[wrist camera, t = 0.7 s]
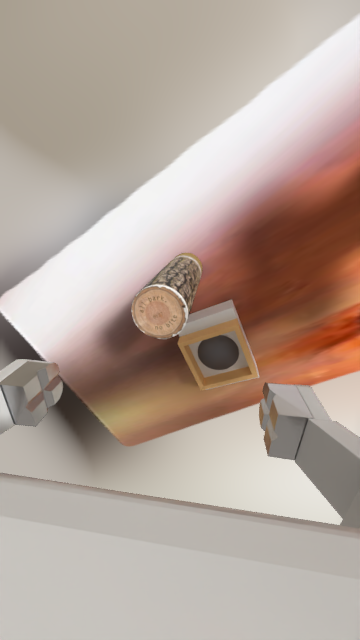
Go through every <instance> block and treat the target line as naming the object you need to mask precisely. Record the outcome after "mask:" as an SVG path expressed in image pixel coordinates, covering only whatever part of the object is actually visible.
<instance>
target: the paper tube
mask: <svg viewBox="0 0 360 640" xmlns="http://www.w3.org/2000/svg"><path fill="white" fill-rule="evenodd" d="M201 274H202V264H201V262H200V260H199V259H198V258H197V257H196V256H195V255H193V254H191V253H182V254H179V255H178V256H176V257H175V258H174V259H173V260H172V261H171V262H170V263H169V264H168V265H167V266H166V267H165V268H164V269H162V270H161V271H160V272H159V273H158V274H157V275H156V276H155V277H154V278H153V279H152V280H151V281H150V282H149V283H148V284H147V285H146V286H145V287H144V288H143V289H142V290H141V291H140V292H139V293H138V294H137V295H136V296H135V298H134V300H133V303H132V308H131V312H132V317H133V320H134V322H135V324H136V325H137V327H138V328H139V329H140V330H141V331H142V332H143V333H145V334H146V335H148V336H150V337H153V338H157V339H168V338H171V337H174V336H176V335H177V334H179V333H180V332H181V331H182V330H183V328H184V327H185V325H186V323H187V320H188V317H189V313H190V310H191V307H192V304H193V301H194V297H195V294H196V291H197V288H198V284H199V281H200V278H201Z"/></svg>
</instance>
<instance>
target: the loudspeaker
mask: <svg viewBox="0 0 360 640" xmlns="http://www.w3.org/2000/svg"><path fill="white" fill-rule="evenodd" d="M179 336H180V338H179V341H178V346H179V348H180V350H181V352H182V354H183V356H184V358H185V360H186V362H187V364H188V366H189V368H190V370H191V372H192V374H193V376H194V378H195V380H196V382H197V384H198V386H199V388H200V390H201V391H202V390H208V389H212V388H216V387H220V386H224V385H229V384H233V383H237V382H241V381H245V380H250V379H254V378H258V377H259V373H258V369H257V364H256V362H255V359H254V356H253V354H252V351H251V349H250V346H249V343H248V341H247V338H246V335H245V333H244V330H243V327H242V325H241V322H240V320H239V317H238V314H237V312H236V309H235V306H234V304H233V301H232V299H231V300H228V301H226V302H223V303H220V304H217V305H214V306H211V307H209V308H206V309H203V310H200V311H197V312H195V313H192V314H189V317H188V320H187V323H186V325H185V327H184V328H183V330H182V331H181V332H180V333H179Z"/></svg>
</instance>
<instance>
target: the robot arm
mask: <svg viewBox="0 0 360 640" xmlns="http://www.w3.org/2000/svg"><path fill="white" fill-rule="evenodd" d="M59 372H60V371H59V367H58V365H57V364H56V363H53V362H44V361H36V360H26V359H19V360H16V361H14V362H13V363H11V364H10V365H8V366H7V367H5V368H4V369H3V370H1V371H0V434H2V433H3V432H5V431H7V430H8V429H9V428H11V427H13V426H14V424H15V425H25V426H37V425H38V423H39V422H40V421H41V420H42V419H43V418H44V416H45V415H46V414H47V413H48V407H51V406H53V405H54V404H56V402H57V401H58V400H59V399H60V396H61V394H62V390H63V385H62V380H61V379H60V378H59V377H58V376H57V375H58V374H59ZM262 392H263V395H264V399H262V400H261V401H260V407H259V418H260V425H261V428H262V429H263V430H264V431H265V436H264V442H265V445H266V450H267V454H268V456H270V457H277V458H283V459H290V460H295V462H296V464H297V465H298V466H299V467H300V468H301V470H303V472H304V473H305V474H306V475H307V477H308V478H309V479H310V480H311V481H312V483H313V484H314V485H315V486H316V487H317V489H318V490H319V491H320V492H321V493H322V495H323V496H324V497H325V498H326V499H327V500H328V502H329V503H330V504H331V505H332V506H333V508H334V509H335V510H336V511H337V512H338V514H339V515H340V516H341V517H342V518H343V521H342V523H341V524H340V525H334V524H328V523H322V522H315V521H308V520H303V519H296V518H290V517H283V516H277V515H270V514H264V513H257V512H251V511H244V510H238V509H232V508H225V507H218V506H212V505H205V504H199V503H192V502H185V501H179V500H173V499H166V498H160V497H153V496H146V495H140V494H133V493H127V492H121V491H114V490H108V489H101V488H95V487H89V486H82V485H76V484H69V483H63V482H57V481H50V480H43V479H37V478H31V477H24V476H18V475H12V474H5V473H0V640H360V437H358V436H357V435H355V434H354V433H353V432H351V431H350V430H348V429H347V428H346V427H344V426H343V425H341V424H340V423H338V422H337V421H332V420H331V418H330V417H329V415H328V414H327V412H326V410H325V409H324V407H323V405H322V404H321V402H320V400H319V399H318V397H317V396H316V394H315V392H314V391H313V389H312V387H310V386H308V385H288V384H276V383H265V384H264V386H263V391H262Z"/></svg>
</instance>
